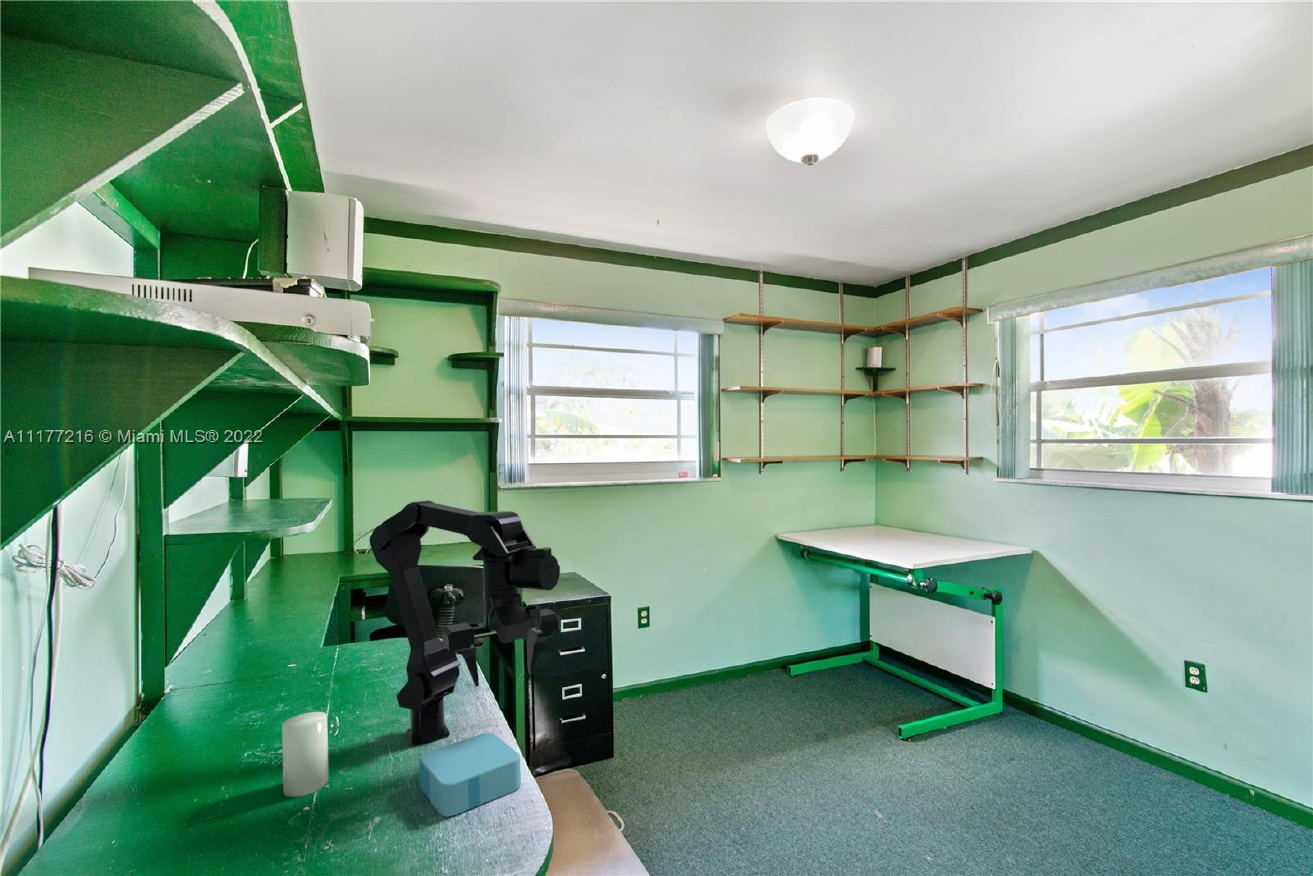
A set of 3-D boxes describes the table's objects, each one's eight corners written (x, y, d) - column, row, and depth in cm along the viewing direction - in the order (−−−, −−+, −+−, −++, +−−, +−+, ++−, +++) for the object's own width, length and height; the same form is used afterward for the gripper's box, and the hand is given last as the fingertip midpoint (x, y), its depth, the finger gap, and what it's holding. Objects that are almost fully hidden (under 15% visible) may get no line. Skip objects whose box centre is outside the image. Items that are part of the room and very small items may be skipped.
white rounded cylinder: (283, 783, 92) (282, 718, 93) (327, 771, 95) (326, 708, 96) (282, 801, 87) (281, 732, 88) (329, 788, 90) (327, 722, 91)
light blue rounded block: (444, 821, 81) (524, 787, 88) (443, 787, 81) (523, 756, 88) (417, 785, 90) (492, 758, 98) (416, 755, 90) (491, 730, 98)
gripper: (454, 604, 89) (457, 710, 88) (570, 586, 98) (574, 681, 98) (440, 592, 98) (442, 687, 98) (547, 576, 108) (550, 663, 107)
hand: (504, 679), depth 100 cm, fingers open, 9 cm apart
